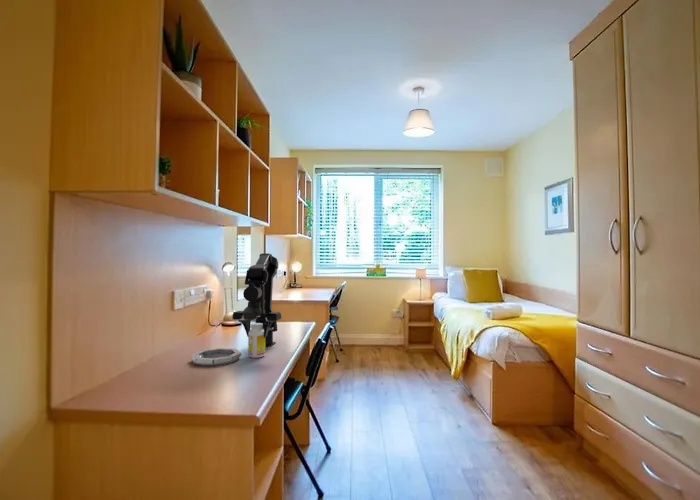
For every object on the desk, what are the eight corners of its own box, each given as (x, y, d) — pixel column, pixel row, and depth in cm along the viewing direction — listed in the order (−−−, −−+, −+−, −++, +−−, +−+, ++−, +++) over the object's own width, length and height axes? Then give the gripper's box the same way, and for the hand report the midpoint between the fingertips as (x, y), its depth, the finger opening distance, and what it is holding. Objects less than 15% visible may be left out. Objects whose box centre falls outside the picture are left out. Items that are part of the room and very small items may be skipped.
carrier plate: (208, 353, 157) (208, 347, 157) (247, 355, 154) (247, 349, 154) (183, 365, 140) (183, 358, 140) (225, 367, 137) (225, 360, 137)
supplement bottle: (267, 354, 156) (267, 322, 156) (262, 358, 149) (262, 325, 149) (251, 353, 156) (251, 322, 156) (245, 358, 150) (245, 325, 150)
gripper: (225, 300, 147) (225, 340, 147) (271, 301, 143) (270, 342, 143) (239, 297, 158) (238, 334, 157) (281, 298, 154) (281, 336, 154)
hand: (256, 337), depth 153 cm, fingers closed on supplement bottle, 7 cm apart
